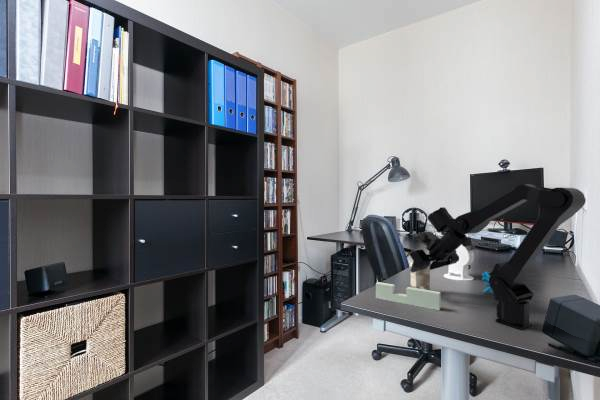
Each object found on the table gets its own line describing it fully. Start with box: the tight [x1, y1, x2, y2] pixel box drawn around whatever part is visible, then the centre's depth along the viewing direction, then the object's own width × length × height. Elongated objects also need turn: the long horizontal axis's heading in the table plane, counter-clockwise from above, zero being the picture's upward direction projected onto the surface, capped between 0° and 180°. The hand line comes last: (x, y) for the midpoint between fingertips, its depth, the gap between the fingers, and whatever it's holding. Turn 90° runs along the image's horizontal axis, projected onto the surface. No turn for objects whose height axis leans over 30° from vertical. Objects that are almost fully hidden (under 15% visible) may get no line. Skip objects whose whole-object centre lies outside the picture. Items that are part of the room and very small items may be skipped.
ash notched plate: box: [410, 261, 431, 291], centre depth 112 cm, size 7×2×11 cm, turn 118°
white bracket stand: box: [443, 243, 476, 282], centre depth 133 cm, size 12×11×15 cm
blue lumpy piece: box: [481, 271, 493, 294], centre depth 110 cm, size 11×6×10 cm
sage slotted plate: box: [375, 281, 442, 311], centre depth 101 cm, size 20×2×5 cm, turn 55°
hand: (420, 270), depth 112 cm, fingers open, 9 cm apart
